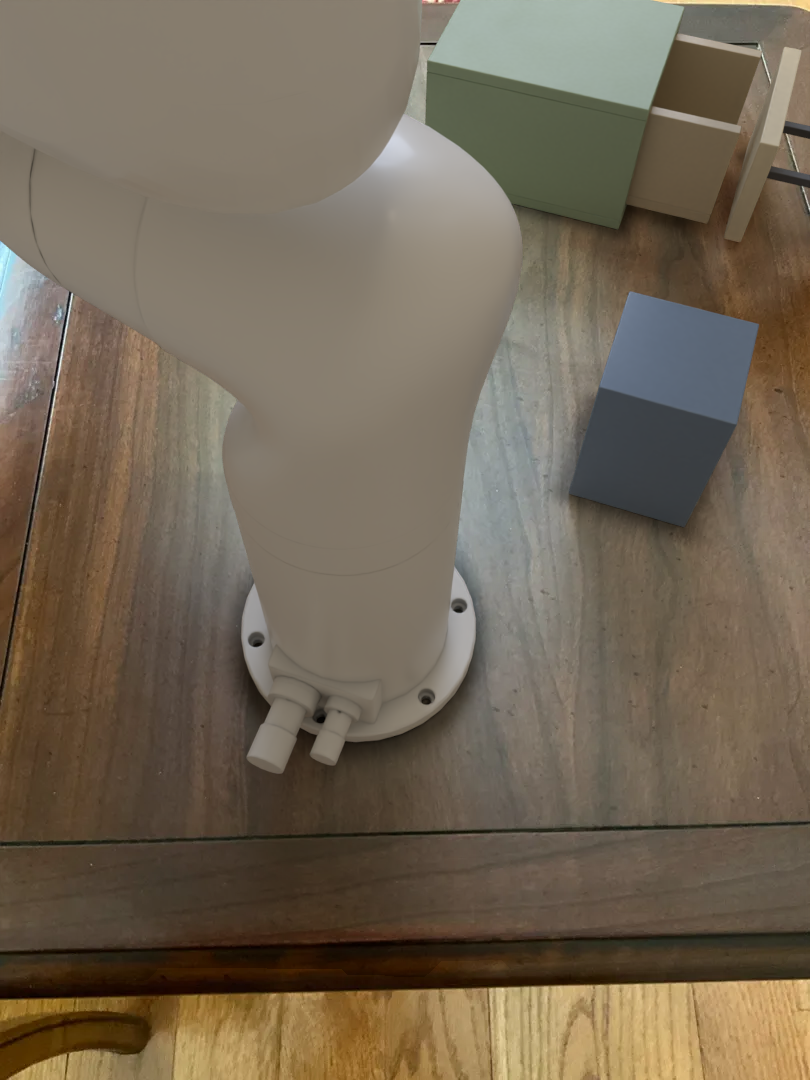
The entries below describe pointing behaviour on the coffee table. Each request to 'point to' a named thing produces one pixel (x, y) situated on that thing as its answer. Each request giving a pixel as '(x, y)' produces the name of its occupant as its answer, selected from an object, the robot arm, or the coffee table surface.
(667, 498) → the stand
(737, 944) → the coffee table surface
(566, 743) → the coffee table surface
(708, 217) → the drawer
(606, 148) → the cabinet
